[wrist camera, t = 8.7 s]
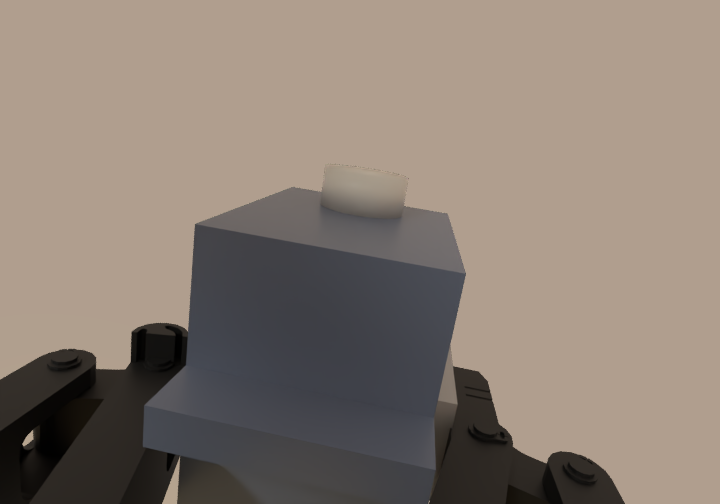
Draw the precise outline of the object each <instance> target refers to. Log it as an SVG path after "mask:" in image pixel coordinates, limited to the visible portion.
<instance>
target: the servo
mask: <svg viewBox="0 0 720 504" xmlns="http://www.w3.org/2000/svg"><path fill="white" fill-rule="evenodd" d="M408 179H409V178H408V177H406V176H402V175H399V174H395V173H391V172H386V171H381V170H376V169H369V168H363V167H356V166H348V165H336V164H327V165H325V172H324V180H323V187H322V192H318V191H312V190H306V189H301V188H295V187H291V188H289V189H286V190H283V191H281V192H278V193H276V194H273V195H270V196H268V197H265V198H262V199H260V200H257V201H255V202H252V203H249V204H247V205H244V206H241V207H239V208H236V209H233V210H231V211H228V212H226V213H223V214H220V215H218V216H215V217H213V218H210V219H207V220H205V221H202V222H199V223H197V224H195V233H194V234H195V235H194V249H193V265H192V281H191V296H190V311H189V312H190V313H189V327H188V343H187V359H186V366H185V367H184V368H183V369H182V370H181V371H180V372H179V373H178V374H176V375H175V376H174V377H173V378H172V379H171V380H170V381H169V382H168V383H167V384H166V385H165V386H164V387H163V388H162V389H161V390H160V391H159V392H158V393H157V394H156V395H155V396H154V397H152V398H151V399H150V400H149V401H148V402H147V403H146V404H145V405H144V426H143V447H146V448H150V449H154V450H159V451H163V452H167V453H172V454H176V455H180V470H179V485H178V500H177V504H428V502H429V498H430V493H431V489H432V485H433V480H434V476H435V472H436V461H435V432H434V416H435V411H436V407H437V402H438V397H439V393H440V388H441V384H442V379H443V375H444V370H445V366H446V361H447V357H448V352H449V348H450V343H451V339H452V334H453V330H454V325H455V320H456V316H457V311H458V307H459V302H460V298H461V293H462V289H463V284H464V280H465V275H466V273H465V269H464V266H463V263H462V259H461V256H460V253H459V250H458V246H457V243H456V240H455V237H454V233H453V230H452V227H451V223H450V220H449V217H448V214H446V213H440V212H434V211H429V210H423V209H417V208H410V207H405V206H404V202H405V196H406V190H407V185H408Z"/></svg>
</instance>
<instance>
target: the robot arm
mask: <svg viewBox="0 0 720 504" xmlns="http://www.w3.org/2000/svg"><path fill="white" fill-rule="evenodd" d="M131 341H132V342H131V363H130V364H129V365H128V367H127V368H126V370H106V369H96V357H95V356H94V355H93V354H92V353H90V352H87V351H83V350H76V349H68V350H67V349H63V350H59V351H56V352H51V353H48V354H46V355H43V356H41V357H39V358H37V359H35V360H34V361H32V362H30V363H28V364H27V365H25V366H23V367H21V368H20V369H18V370H16V371H15V372H13V373H11V374H9V375H8V376H6V377H4V378H3V379H1V380H0V504H162V502H163V500H164V497H165V494H166V491H167V489H168V486H169V484H170V481H171V478H172V475H173V473H174V470H175V467H176V465H177V462H178V460H179V457H180V455H176V454H172V453H167V452H163V451H159V450H154V449H150V448H146V447H143V426H144V405H145V404H146V403H147V402H148V401H149V400H150V399H151V398H152V397H154V396H155V395H156V394H157V393H158V392H159V391H160V390H161V389H162V388H163V387H164V386H165V385H166V384H167V383H168V382H169V381H170V380H171V379H172V378H173V377H174V376H175V375H176V374H178V373H179V372H180V371H181V370H182V369H183V368H184V367H185V366H186V359H187V343H188V332H187V330H186V329H185V328H183V327H181V326H178V325H175V324H169V323H154V324H148V325H144V326H141V327H138V328H136V329H135V330H134V331H132V339H131ZM32 430H33V436H34V440H32V441H31V442H30V443H29V444H27V445H26V446H24V447H23V445H22V443H23V442H24V440H25V438H26V436H27V435H28V434H29V433H30V432H31V431H32ZM434 432H435V461H436V472H435V476H434V480H433V485H432V489H431V493H430V498H429V501H430V502H429V504H625V503H624V501H623V499H622V497H621V496H620V494H619V492H618V490H617V488H616V486H615V485H614V483H613V481H612V479H611V478H610V476H609V475H608V474H607V473H606V471H604V469H602V468H601V467H600V466H599V465H597V464H596V463H595V462H593V461H592V460H590V459H587V458H586V457H584V456H582V455H577V454H574V453H571V452H562V451H560V452H556V453H553V454H552V455H551V456H550V457H549V458H548V462H547V464H546V463H543V462H541V461H539V460H536V459H534V458H532V457H529V456H527V455H525V454H523V453H521V452H520V451H518V450H517V449H515V448H514V447H513V441H512V437H511V435H510V434H509V433H508V431H507V430H506V429H505V428H503V427H502V426H500V425H499V423H498V420H497V416H496V412H495V408H494V404H493V402H492V397H491V393H490V389H489V385H488V381H487V380H486V379H485V378H484V377H483V376H482V375H481V374H480V373H479V372H478V371H472V370H468V369H463V368H458V367H453V364H452V355H451V347H450V348H449V352H448V357H447V361H446V366H445V370H444V375H443V379H442V384H441V388H440V393H439V397H438V402H437V407H436V411H435V416H434Z"/></svg>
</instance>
